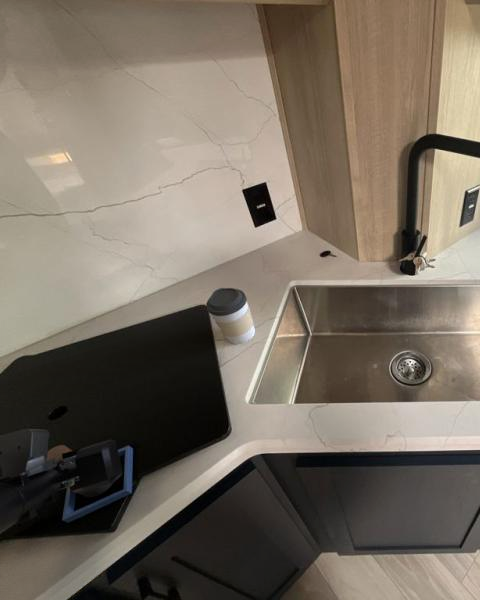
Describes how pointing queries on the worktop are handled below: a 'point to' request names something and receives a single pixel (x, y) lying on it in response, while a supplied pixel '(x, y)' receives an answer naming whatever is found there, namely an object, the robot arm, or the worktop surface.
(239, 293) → the coffee cup
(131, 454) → the blue square frame
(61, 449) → the dish brush
